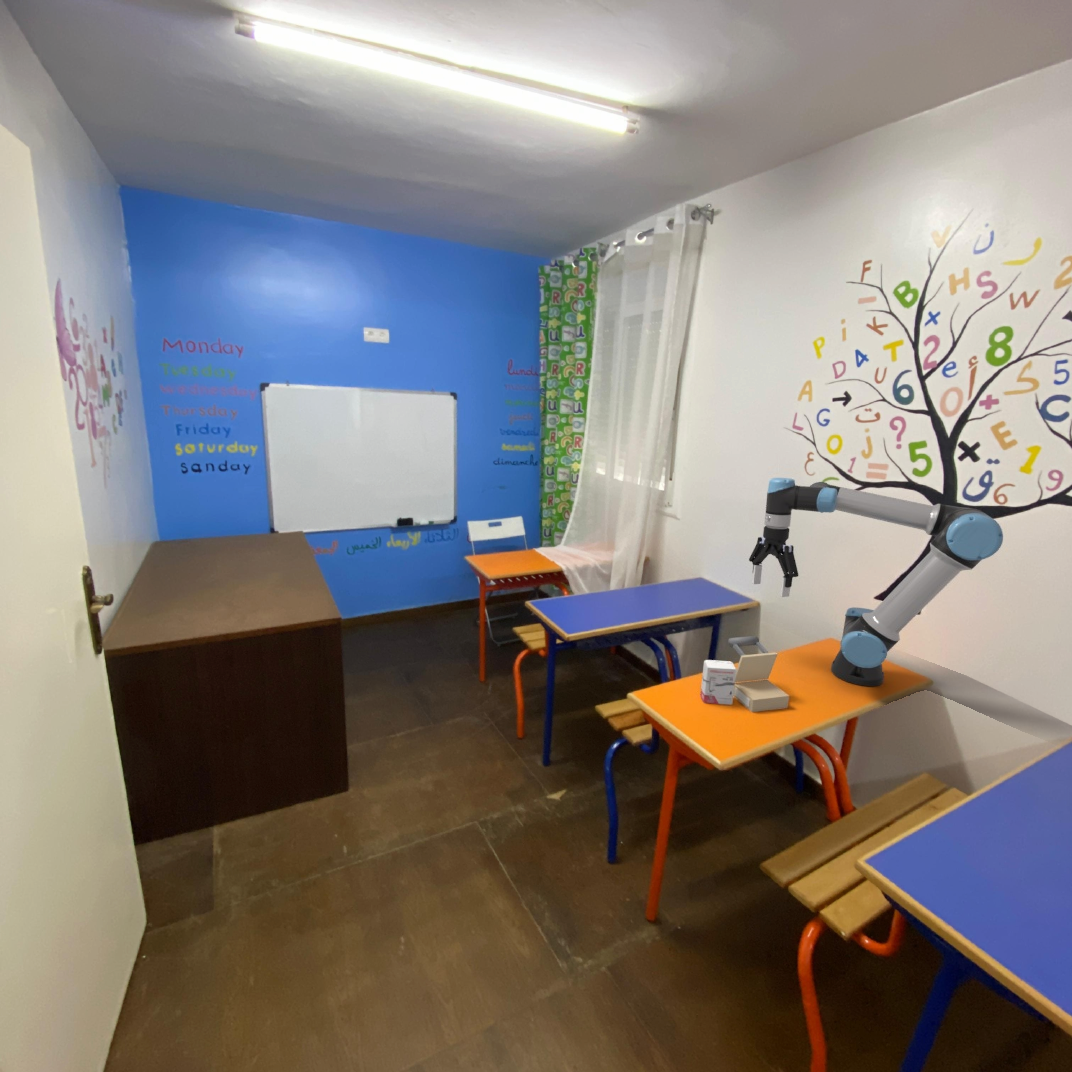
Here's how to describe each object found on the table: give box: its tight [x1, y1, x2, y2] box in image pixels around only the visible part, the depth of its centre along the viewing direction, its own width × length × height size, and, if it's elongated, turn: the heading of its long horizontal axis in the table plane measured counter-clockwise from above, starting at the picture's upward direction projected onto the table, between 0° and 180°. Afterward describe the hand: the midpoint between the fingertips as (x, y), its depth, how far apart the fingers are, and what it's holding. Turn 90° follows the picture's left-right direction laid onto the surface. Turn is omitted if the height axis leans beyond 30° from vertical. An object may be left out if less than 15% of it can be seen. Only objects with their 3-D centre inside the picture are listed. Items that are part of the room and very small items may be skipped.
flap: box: [727, 635, 778, 683], centre depth 166 cm, size 12×10×10 cm
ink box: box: [700, 659, 737, 706], centre depth 160 cm, size 9×5×12 cm, turn 85°
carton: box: [733, 679, 790, 713], centre depth 160 cm, size 12×10×4 cm
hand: (769, 589), depth 175 cm, fingers open, 13 cm apart
